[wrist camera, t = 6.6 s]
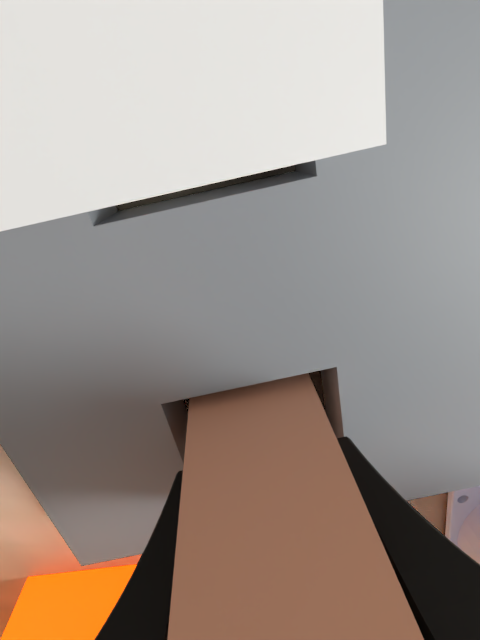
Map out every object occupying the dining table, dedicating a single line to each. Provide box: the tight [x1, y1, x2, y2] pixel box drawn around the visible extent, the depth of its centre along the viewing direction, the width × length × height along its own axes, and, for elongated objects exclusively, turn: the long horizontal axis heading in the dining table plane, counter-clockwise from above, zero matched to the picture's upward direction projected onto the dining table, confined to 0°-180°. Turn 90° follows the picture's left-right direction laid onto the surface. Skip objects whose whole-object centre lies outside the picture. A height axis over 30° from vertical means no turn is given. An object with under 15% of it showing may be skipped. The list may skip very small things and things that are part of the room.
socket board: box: [0, 0, 480, 566], centre depth 8 cm, size 19×16×8 cm
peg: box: [167, 373, 424, 640], centre depth 10 cm, size 4×4×8 cm
